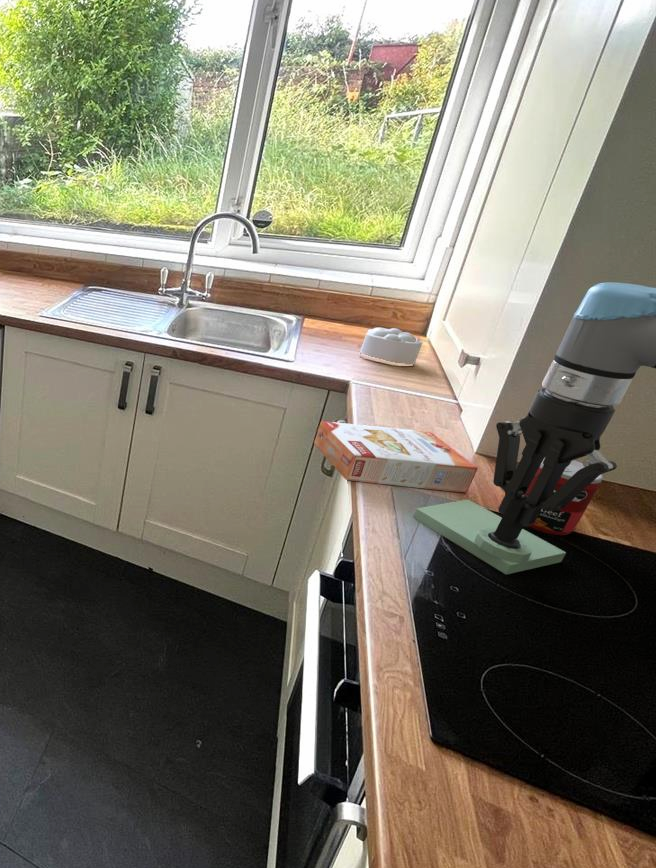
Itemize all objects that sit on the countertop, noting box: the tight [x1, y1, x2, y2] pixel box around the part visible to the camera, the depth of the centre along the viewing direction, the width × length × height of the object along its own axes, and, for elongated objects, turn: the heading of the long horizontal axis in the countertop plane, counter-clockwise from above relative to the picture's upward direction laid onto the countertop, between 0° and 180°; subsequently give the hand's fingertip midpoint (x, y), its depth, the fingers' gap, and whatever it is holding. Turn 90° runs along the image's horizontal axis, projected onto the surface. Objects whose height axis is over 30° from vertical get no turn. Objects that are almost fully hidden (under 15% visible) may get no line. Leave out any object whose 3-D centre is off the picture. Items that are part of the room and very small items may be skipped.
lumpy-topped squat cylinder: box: [359, 326, 423, 364], centre depth 168 cm, size 10×13×9 cm
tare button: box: [490, 532, 520, 549], centre depth 88 cm, size 3×3×2 cm
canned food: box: [522, 458, 604, 536], centre depth 97 cm, size 8×8×11 cm
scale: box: [412, 499, 567, 575], centre depth 93 cm, size 14×12×4 cm
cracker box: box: [313, 420, 479, 494], centre depth 112 cm, size 14×6×21 cm
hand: (505, 536), depth 88 cm, fingers closed
